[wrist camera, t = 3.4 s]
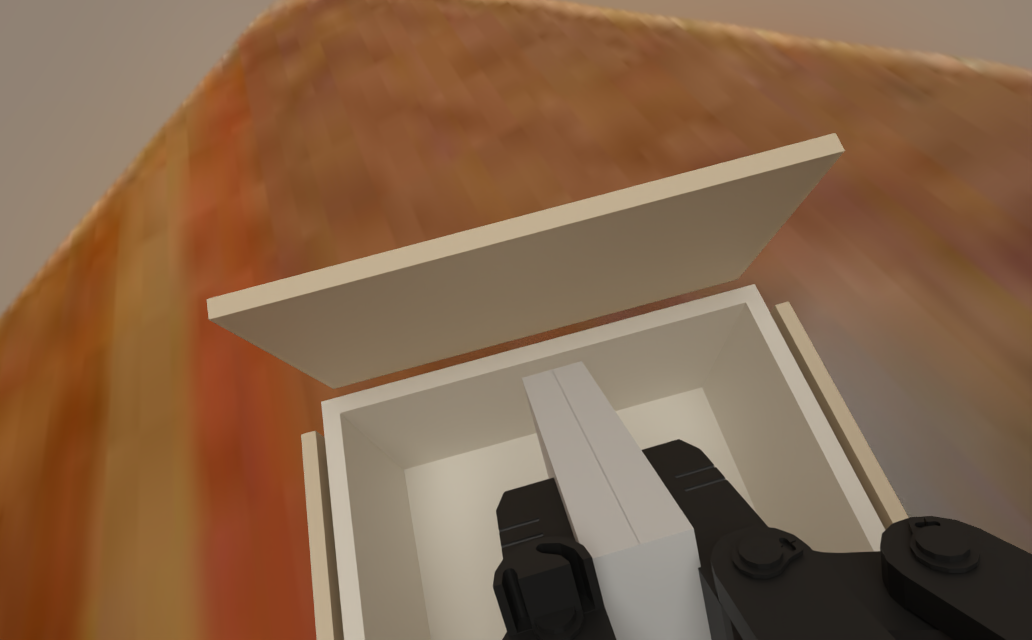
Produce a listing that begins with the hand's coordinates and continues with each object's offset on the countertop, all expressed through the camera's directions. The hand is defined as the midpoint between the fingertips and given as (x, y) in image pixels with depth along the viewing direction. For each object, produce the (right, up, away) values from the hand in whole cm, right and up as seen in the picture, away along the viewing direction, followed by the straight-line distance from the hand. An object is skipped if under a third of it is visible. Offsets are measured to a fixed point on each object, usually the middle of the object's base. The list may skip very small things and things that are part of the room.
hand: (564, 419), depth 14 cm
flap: (0, +2, +7) cm, 7 cm away
